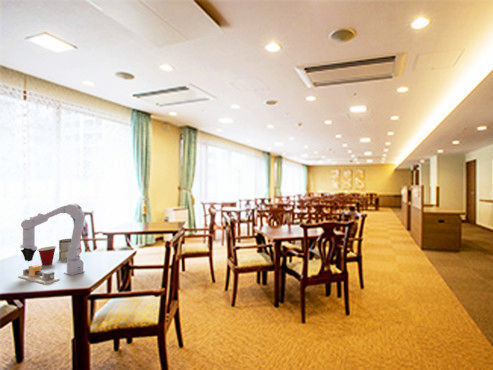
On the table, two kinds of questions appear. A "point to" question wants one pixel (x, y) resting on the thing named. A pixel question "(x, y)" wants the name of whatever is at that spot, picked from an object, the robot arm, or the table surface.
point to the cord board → (39, 277)
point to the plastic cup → (47, 255)
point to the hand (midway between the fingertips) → (28, 260)
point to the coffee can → (63, 248)
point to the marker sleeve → (34, 270)
